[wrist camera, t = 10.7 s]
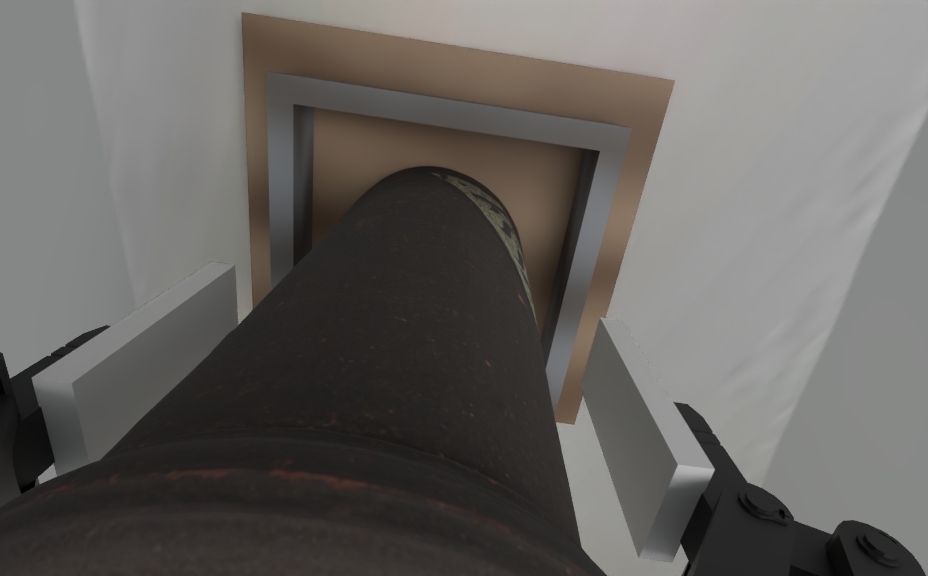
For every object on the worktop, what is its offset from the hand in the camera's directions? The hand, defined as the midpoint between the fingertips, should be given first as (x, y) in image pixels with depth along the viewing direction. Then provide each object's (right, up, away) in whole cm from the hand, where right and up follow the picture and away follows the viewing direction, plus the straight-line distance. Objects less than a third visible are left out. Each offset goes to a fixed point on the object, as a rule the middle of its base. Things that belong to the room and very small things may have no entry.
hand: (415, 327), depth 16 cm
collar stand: (0, +4, +8) cm, 9 cm away
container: (0, +3, +7) cm, 8 cm away
